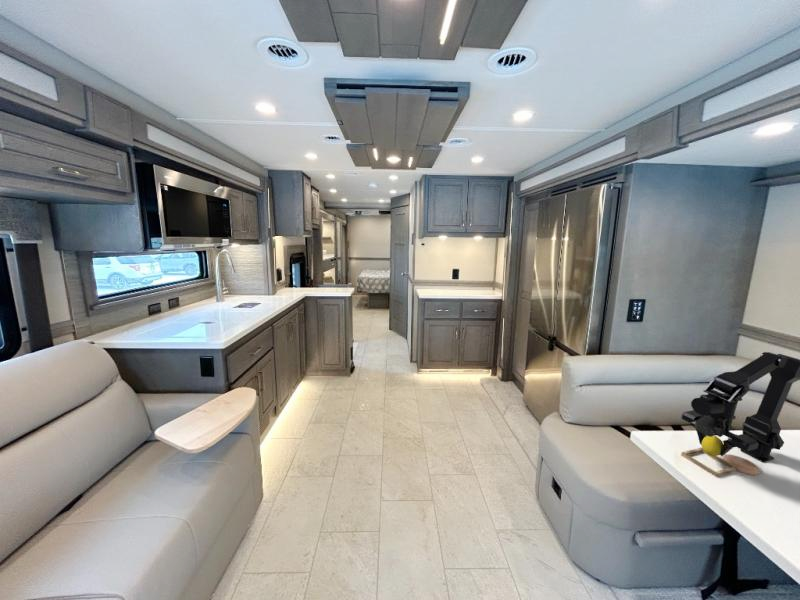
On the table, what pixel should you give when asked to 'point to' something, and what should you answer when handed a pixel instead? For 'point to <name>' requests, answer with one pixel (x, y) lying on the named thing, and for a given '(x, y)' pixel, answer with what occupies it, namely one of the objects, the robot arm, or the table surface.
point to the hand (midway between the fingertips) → (711, 449)
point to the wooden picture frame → (717, 473)
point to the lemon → (712, 445)
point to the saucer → (742, 464)
